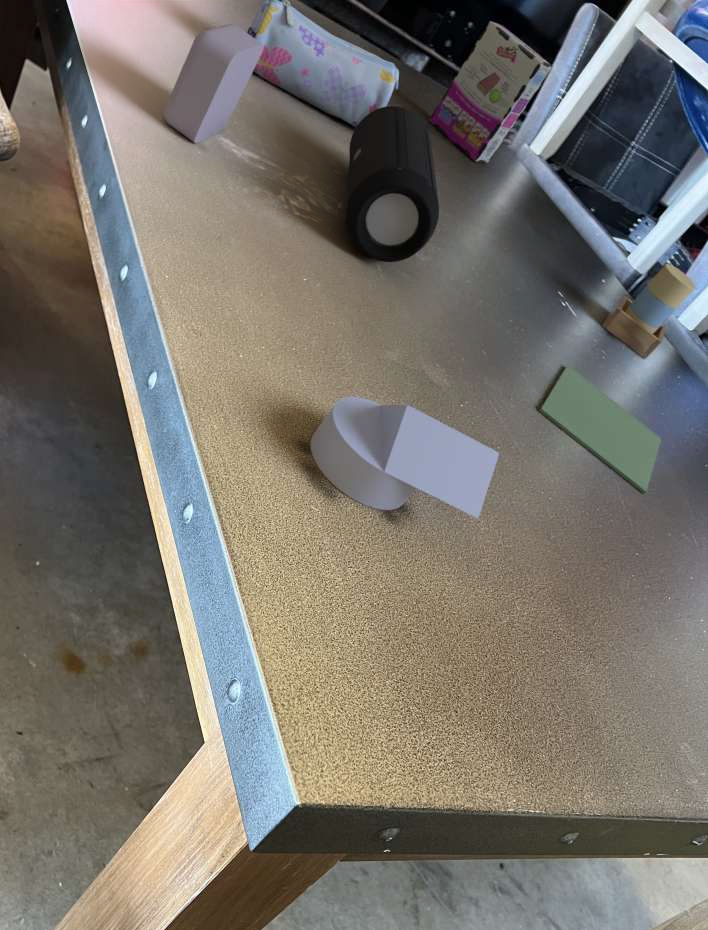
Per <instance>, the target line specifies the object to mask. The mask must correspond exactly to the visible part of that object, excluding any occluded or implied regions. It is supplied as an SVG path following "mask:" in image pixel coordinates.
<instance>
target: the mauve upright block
mask: <svg viewBox="0 0 708 930" xmlns="http://www.w3.org/2000/svg"><path fill="white" fill-rule="evenodd" d="M262 50H263V44H261V43H260V42H259V41H257V40H256V39H255V38H253V37H252V36H250V35H249V34H248V33H247V32H246V31H245V30H244V29H242V28H241V27H239V26H238V25H237V24H234V23H229V24H224V25H220V26H217V27H212V28H208V29H204V30H202V31H200V32H199V33H198V34H197V35H196V36H195V38H194V40H193V41H192V44H191V47H190V48H189V51H188V54H187V56H186V58H185V61H184V63H183V65H182V67H181V69H180V72H179V75H178V77H177V79H176V81H175V84H174V86H173V88H172V90H171V93H170V95H169V98H168V100H167V102H166V105H165V107H164V111H163V116H164V118H165V122H166V123H167V124H168V125H169V126H171V127H172V128H173V129H175V130H176V131H178V132H179V133H180V134H182V135H183V136H184V137H186V138H187V139H189V140H190V141H192V142H193V143H194V144H198V143H200V142H202V141H204V140H206V139H209V138H210V137H213V136H214V135H217V134H219V133H221V132H222V131H223V130H224V129H225V128H226V127H227V125H228V124H229V122H230V120H231V118H232V116H233V114H234V111H235V109H236V108H237V105H238V104H239V102H240V99H241V97H242V95H243V93H244V91H245V89H246V87H247V85H248V82H249V80H250V79H251V77H252V74H253V73H254V72H253V70H254V68H255V66H256V64H257V62H258V60H259V58H260V55H261V53H262Z"/></svg>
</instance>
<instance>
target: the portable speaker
mask: <svg viewBox="0 0 708 930" xmlns="http://www.w3.org/2000/svg"><path fill="white" fill-rule="evenodd" d="M348 150H349V160H348V162H349V163H348V175H347V176H348V177H347V178H348V179H347V195H346V208H345V226H346V230H347V233H348V235H349V237H350V239H351V241H352V243H353V244H354V245H355V246H356V247H357V249H358V251H360V252H362V254H364V255H366V256H368V257H370V258H372V259H373V260H376V261H378V262H384V263H397V262H401V261H404V260H406V259H407V260H408V259H409V258H411V257H412V256H414V255H416V254H417V253H418V252H420V251H421V250H422V249H423V248H424V247H426V244H428V243H429V241H430V240H431V238H432V237H433V235H434V233H435V231H436V228H437V226H438V222H439V218H440V217H439V215H440V204H439V203H440V202H439V196H438V195H439V194H438V187H437V180H436V179H437V178H436V172H435V163H434V155H433V154H434V153H433V147H432V139H431V136H430V133H429V130H428V128H427V126H426V123H425V122H424V121H423V120H422V118H421V117H420V116H419V115H418V114H416V113H415V112H414V111H412V110H410V109H409V108H406V107H402V106H397V105H396V106H395V105H391V106H386V107H383V108H379V109H377V110H375V111H373V112H371V113H369V114H368V115H367V116H366V117H364V118H363V119H362V120H361V121H360V123H359V124H358V125H357V127H355V129H354V131H353V132H352V134H351V138H350V143H349V149H348Z"/></svg>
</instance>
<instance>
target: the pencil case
mask: <svg viewBox="0 0 708 930" xmlns="http://www.w3.org/2000/svg"><path fill="white" fill-rule="evenodd" d="M246 33H248V34H249V35H250V36H252V37H253V38H255V39H256V40H257V41H259V42H260V43H261V44H263V50H262V53H261V55H260V58H259V60H258V62H257V64H256V66H255V68H254V70H253V72H252V73H255V74H256V75H258V76H259V77H261V78H263V80H266V81H268V82H269V83H271V84H273V85H275V86H277V87H279V88H281V89H282V90H285V91H286V92H287V93H289V94H291V95H293V96H294V97H297V98H298V99H300V100H301V101H304V102H306V103H308V104H309V105H312V106H313V107H315V108H317V109H319V110H320V111H322V112H324V113H326V114H328V115H331V116H333V117H336V118H339V119H340V120H341V119H342V120H343V121H345V122H346V123H347V124H350V125H352V126H353V128H356V127H357V125H358V124H359V123H360V121H361V120H362V119H363V118H364V117H366V116H367V115H368V114H369V113H371V112H373V111H375V110H377V109H379V108H383V107H388V106H387V105H388V104H389V102H390V99H391V98H392V94H393V92H394V89H395V90H398V89H399V77H400V71H399V69H398V68H397V66H396V65H395V63H393V62H390V61H388V60H385V59H383V58H381V57H380V56H378V55H376V54H374V53H372V52H369V51H367V50H365V49H363V48H362V47H359V46H358V45H355V44H353V43H351V42H348V41H346V40H344V39H343V38H340V37H338V36H335V35H333V34H332V33H330V32H328V31H327V30H325V29H324V28H323V27H322V26H320V25H318V24H316V23H315V22H314V21H312V20H311V19H310V18H308V17H307V16H305V15H304V14H303V13H301V12H300V11H299V10H297V8H295V7H293V6H292V5H291V2H290V0H262V1H261V4H260V6H259V8H258V9H257V11H256V13H255V15H254V17H253V20H252V23H251V25H250V26H249V27H248V29H247V32H246Z"/></svg>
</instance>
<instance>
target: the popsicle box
mask: <svg viewBox="0 0 708 930" xmlns="http://www.w3.org/2000/svg"><path fill="white" fill-rule="evenodd" d="M553 67H554V66H553V65H552V64H551V63H549V62H548V61H547V60H546V59H545V58H543V57H542V56H541V55H540V54H539V53H537V52H536V51H535V50H533V49H532V48H531V46H528V45H527V44H526V43H525V42H524V41H523V40H521V38H519V37H518V36H517V35H515V34H514V33H512V32H511V31H510V30H509V29H508V28H506V27H505V26H504V25H503V24H500V23H498V22H494V21H491V20H490V21H488V23H487V25H486V27H485V28H484V30H483V31H482V33H481V35H480V36H479V37H478V40H477V41H476V43H475V44H474V46H473V48H472V49H471V51H470V53H469V54H468V56H467V58H466V59H465V61H464V62H463V64H462V66H461V67H460V69H459V70H458V72H457V74H456V75H455V77H454V79H453V80H452V82H451V84H450V85H449V87H448V88H447V90H446V91H445V93H444V95H443V96H442V98H441V100H440V101H439V103H438V105H437V106H436V107H435V109H434V110H433V112H432V114H431V115H430V117H429V119H428V122H429V123H430V124H431V125H433V127H435V129H436V130H438V131H439V132H440V133H441V134H443V136H445V137H446V138H447V139H448V140H449V141H450V142H451V143H453V144H454V145H455V146H456V147H457V148H458V149H459V150H460V151H462V152H463V153H464V154H465V155H466V156H467V157H468V158H470V159H471V160H472V161H473V162H475V163H480V164H488V163H489V162H490V160H491V159H492V158H493V156H494V155H495V153H496V152H497V150H498V149H499V147H500V146H501V145H502V143H503V141H504V140H505V139H506V137H507V135H508V134H509V133H510V131H511V130H512V128H513V127H514V126H515V124H516V123H517V121H518V120H519V118H520V116H521V115H522V113H523V112H524V111H525V110H526V108H527V106H528V105H529V104H530V102H531V100H532V99H533V97H534V96H535V94H536V93H537V91H538V90H539V89H540V87H541V85H542V84H543V83H544V81H545V79H546V78H547V77H548V75H549V74H550V72H551V71H552V69H553Z"/></svg>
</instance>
